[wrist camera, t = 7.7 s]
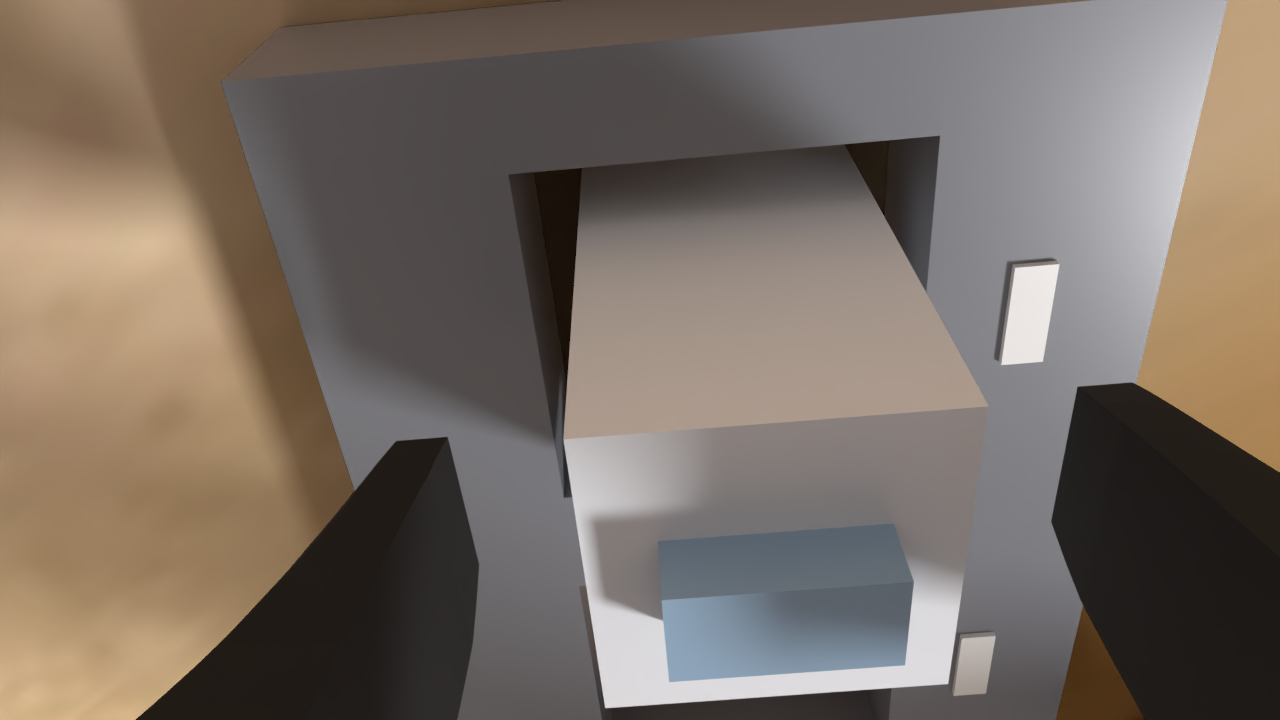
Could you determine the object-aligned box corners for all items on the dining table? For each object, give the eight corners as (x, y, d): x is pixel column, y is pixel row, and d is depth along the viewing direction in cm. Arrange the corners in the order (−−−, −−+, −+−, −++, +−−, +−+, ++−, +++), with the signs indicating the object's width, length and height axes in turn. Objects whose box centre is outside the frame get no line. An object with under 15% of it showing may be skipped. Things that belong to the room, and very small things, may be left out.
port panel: (999, 690, 22) (1040, 795, 20) (479, 728, 23) (465, 835, 20) (1134, -55, 13) (1235, -11, 11) (280, 26, 14) (216, 84, 12)
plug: (833, 355, 17) (968, 744, 11) (607, 373, 17) (604, 768, 11) (841, 138, 15) (1019, 460, 8) (582, 160, 15) (558, 495, 8)
